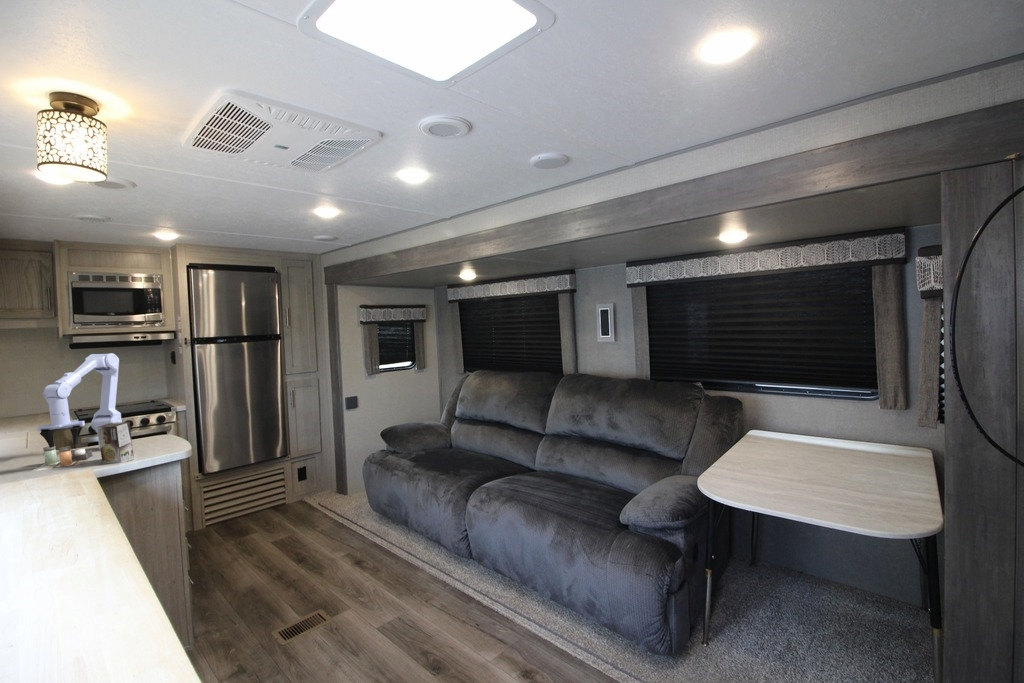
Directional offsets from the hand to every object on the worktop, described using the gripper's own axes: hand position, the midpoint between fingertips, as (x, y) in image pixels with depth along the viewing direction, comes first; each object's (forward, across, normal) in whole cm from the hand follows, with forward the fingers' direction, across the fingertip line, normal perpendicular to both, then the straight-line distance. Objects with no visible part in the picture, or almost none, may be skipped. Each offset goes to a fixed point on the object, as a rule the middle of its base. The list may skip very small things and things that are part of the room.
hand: (64, 445), depth 197 cm
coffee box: (+9, +18, -4) cm, 21 cm away
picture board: (+9, -2, +3) cm, 10 cm away
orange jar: (+8, 0, 0) cm, 8 cm away
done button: (+8, +2, +6) cm, 11 cm away
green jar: (+8, -7, +5) cm, 12 cm away
